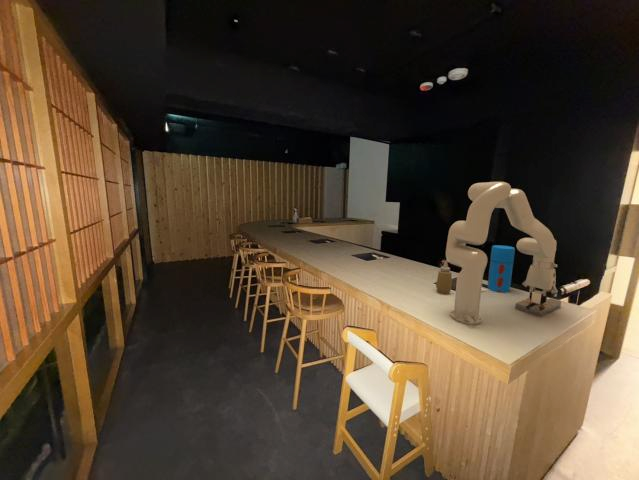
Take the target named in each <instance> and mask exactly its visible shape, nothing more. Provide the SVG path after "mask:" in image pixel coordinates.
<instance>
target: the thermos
mask: <svg viewBox="0 0 639 480" xmlns="http://www.w3.org/2000/svg"><path fill="white" fill-rule="evenodd" d="M515 251H516V249H515V247H513V246H509V245H501V244H500V245H492V246H491V252H490V261H489V268H488V269H489V270H488V278H487V290H490V291H492V292H496V293H501V294H502V293H504V294H505V293H510V289H511V286H512V285H511V283H512V275H513V268H514V260H515Z"/></svg>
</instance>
